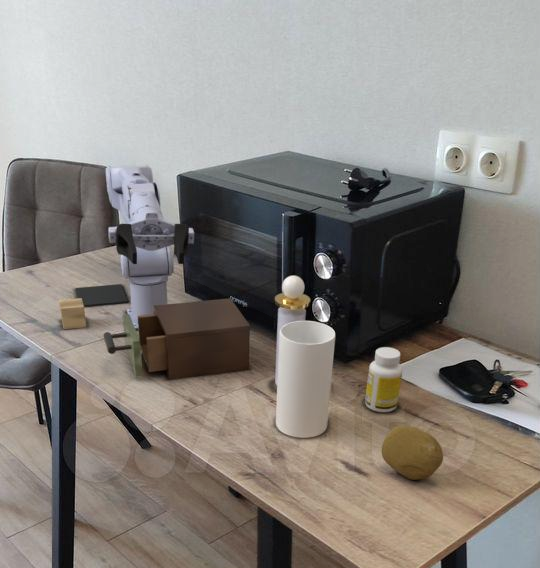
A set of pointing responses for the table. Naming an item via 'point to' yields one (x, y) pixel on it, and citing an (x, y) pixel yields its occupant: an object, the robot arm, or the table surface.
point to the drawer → (142, 343)
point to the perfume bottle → (290, 307)
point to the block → (72, 313)
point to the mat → (102, 295)
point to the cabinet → (204, 337)
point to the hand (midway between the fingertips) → (158, 258)
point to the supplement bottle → (384, 380)
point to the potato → (412, 452)
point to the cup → (304, 378)
